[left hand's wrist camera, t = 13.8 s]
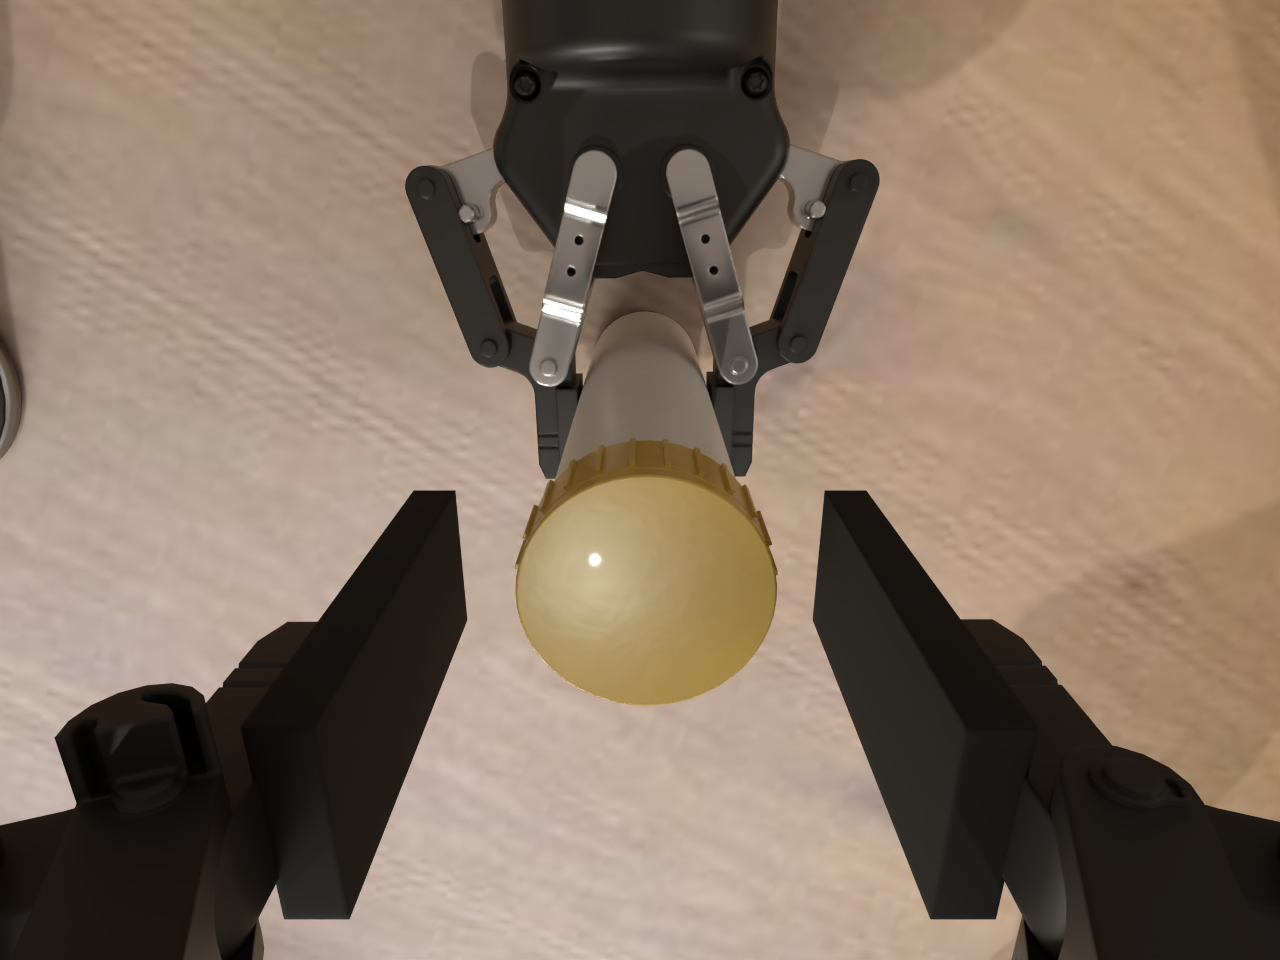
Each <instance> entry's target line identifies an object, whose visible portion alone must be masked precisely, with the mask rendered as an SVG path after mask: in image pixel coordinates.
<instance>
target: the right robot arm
mask: <svg viewBox="0 0 1280 960" xmlns="http://www.w3.org/2000/svg"><path fill="white" fill-rule="evenodd" d="M502 7H503V23H504V38H505V54H506V69H507V88H508V91H507V102H506V108H505V112H504V115H503V118H502V121H501V123H500V125H499V127H498V129H497V132H496V134H495V138H494V144H493V148H492V149H489V150H486V151H483V152H481V153H478V154H475V155H472V156H469V157H467V158H464V159H461V160H458V161H455V162H453V163H450V164H447V165H444V166H433V165H429V166H420V167H417V168H415V169H413V170H412V171H411V172H410V173H409V175H408V177H407V179H406V184H405V189H406V193H407V196H408V199H409V201H410V204H411V206H412V209H413V211H414V214H415V216H416V219H417V221H418V224H419V226H420V229H421V231H422V234H423V236H424V239H425V241H426V244H427V246H428V249H429V251H430V254H431V256H432V259H433V261H434V264H435V266H436V269H437V271H438V274H439V276H440V279H441V281H442V284H443V286H444V289H445V291H446V293H447V296H448V298H449V301H450V303H451V306H452V308H453V311H454V313H455V316H456V318H457V321H458V323H459V326H460V328H461V331H462V333H463V336H464V338H465V341H466V343H467V346H468V348H469V351H470V353H471V355H472V357H473V359H474V360H475V361H476V362H477V363H478V364H480V365H482V366H484V367H497V366H500V367H503V368H506V369H509V370H512V371H515V372H518V373H520V374H522V375H524V376H525V377H526V378H527V379H528V380H529V381H530V383H531V384H532V386H533V388H534V392H535V403H536V420H537V434H538V454H539V465H540V467H541V469H542V471H543V473H544V475H545V477H546V479H556V475H557V472H558V469H559V465H560V462H561V459H562V455H563V452H564V449H565V445H566V442H567V439H568V436H569V432H570V429H571V426H572V422H573V419H574V416H575V412H576V409H577V406H578V402H579V399H580V396H581V392H582V389H583V376H582V374H576V361H575V352H576V348H577V344H578V340H579V336H580V333H581V329H582V325H583V321H584V317H585V313H586V309H587V306H588V303H589V299H590V295H591V292H592V288H593V284H594V280H595V278H618V277H622V276H625V275H628V274H632V273H635V272H639V271H646V272H650V273H654V274H658V275H662V276H665V277H669V278H670V277H691V281H692V284H693V288H694V291H695V295H696V298H697V301H698V305H699V308H700V311H701V315H702V318H703V322H704V326H705V329H706V333H707V336H708V340H709V344H710V347H711V351H712V354H713V372H707V380H706V387H707V390H708V393H709V397H710V400H711V403H712V406H713V409H714V412H715V415H716V419H717V422H718V425H719V428H720V431H721V434H722V437H723V441H724V444H725V447H726V450H727V453H728V456H729V459H730V463H731V466H732V469H733V472H734V475H735V476H745V475H746V473H747V471H748V469H749V467H750V465H751V462H752V443H753V418H754V394H755V387H756V384H757V382H758V380H759V379H760V377H761V376H762V375H763V374H764V373H766V372H767V371H769V370H771V369H774V368H776V367H779V366H782V365H785V364H787V363H790V362H791V363H802V362H805V361H807V360H809V359H810V358H811V357H812V356H813V355H814V354H815V352H816V350H817V348H818V345H819V342H820V340H821V337H822V334H823V332H824V329H825V326H826V324H827V321H828V319H829V316H830V313H831V311H832V308H833V305H834V303H835V300H836V298H837V295H838V292H839V290H840V287H841V284H842V282H843V279H844V277H845V274H846V271H847V269H848V266H849V263H850V261H851V258H852V255H853V253H854V250H855V248H856V245H857V242H858V240H859V237H860V234H861V232H862V229H863V227H864V224H865V221H866V219H867V216H868V213H869V211H870V208H871V205H872V203H873V200H874V198H875V195H876V192H877V190H878V187H879V173H878V170H877V169H876V167H875V166H874V165H873V164H872V163H871V162H869V161H867V160H863V159H857V160H850V161H839V160H836V159H833V158H830V157H827V156H824V155H821V154H818V153H815V152H812V151H809V150H806V149H803V148H800V147H797V146H794V145H791V144H790V140H789V135H788V131H787V129H786V126H785V124H784V122H783V120H782V118H781V116H780V113H779V110H778V107H777V103H776V98H775V90H774V76H775V53H776V31H777V9H778V0H502ZM778 179H779V180H781V181H782V182H783V183H784V184H785V186H786V187H787V189H788V193H789V202H788V207H787V212H788V217H789V219H790V221H791V222H792V223H793V224H794V225H795V226H796V227H798V228H801V232H800V235H799V237H798V240H797V243H796V246H795V249H794V252H793V254H792V257H791V260H790V263H789V266H788V269H787V271H786V274H785V277H784V280H783V283H782V286H781V288H780V291H779V294H778V297H777V300H776V303H775V305H774V308H773V311H772V314H771V317H770V319H769V320H768V321H765V322H762V323H760V324H757V325H754V326H752V327H749V325H748V321H747V317H746V314H745V310H744V302H743V297H742V293H741V289H740V285H739V281H738V277H737V273H736V269H735V265H734V262H733V258H732V254H731V250H730V245H731V244H732V242H733V241H734V239H735V238H736V237H737V235H738V234H739V232H740V231H741V230H742V228H743V227H744V225H745V224H746V223H747V221H748V220H749V219H750V217H751V216H752V214H753V213H754V212H755V210H756V209H757V207H758V206H759V205H760V203H761V202H762V200H763V199H764V198H765V196H766V195H767V193H768V192H769V191H770V189H771V188H772V187H773V185H774V184H775V182H776V181H777V180H778ZM505 182H506V183H507V185H508V186H509V187H510V189H511V190H512V191H513V193H514V194H515V195H516V197H517V198H518V199H519V201H520V202H521V203H522V205H523V206H524V207H525V209H526V210H527V211H528V213H529V214H530V215H531V217H532V218H533V219H534V221H535V222H536V223H537V225H538V226H539V227H540V229H541V230H542V231H543V233H544V234H545V235H546V237H547V238H548V239H549V241H550V242H551V243H552V245H553V246H554V247H555V251H554V255H553V259H552V263H551V268H550V272H549V276H548V280H547V285H546V289H545V293H544V298H543V303H542V312H541V316H540V320H539V325H538V329H534V328H532V327H529V326H526V325H523V324H520V323H517V321H516V318H515V315H514V313H513V310H512V307H511V305H510V302H509V299H508V297H507V294H506V291H505V289H504V286H503V283H502V281H501V278H500V275H499V273H498V270H497V267H496V265H495V262H494V259H493V257H492V254H491V251H490V249H489V246H488V243H487V241H486V238H485V235H484V233H483V232H486V231H488V230H489V229H491V228H492V227H493V225H494V224H495V222H496V219H497V209H496V204H495V198H496V193H497V191H498V189H499V188H500V186H501V185H502V184H503V183H505ZM21 406H22V405H21V392H20V385H19V381H18V377H17V373H16V370H15V367H14V364H13V362H12V359H11V357H10V355H9V353H8V350H7V349H6V347H5V345H4V343H3V341H2V340H1V338H0V459H1V458H2V457H3V456H4V454H5V453H6V452H7V451H8V449H9V448H10V446H11V444H12V443H13V441H14V438H15V436H16V434H17V431H18V427H19V423H20V418H21Z"/></svg>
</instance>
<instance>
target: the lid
mask: <svg viewBox="0 0 1280 960" xmlns="http://www.w3.org/2000/svg"><path fill="white" fill-rule="evenodd" d="M523 539H524V541H523V544H522V546H521V549H520V552H519V555H518V558H517V561H516V565H515V569H518V571H517V576H516V602H517V609H518V613H519V617H520V621H521V624H522V626H523V629H524V631H525V633H526V636H527V638H528V639H529V641H530V643H531V644H532V646H533V648H534V649H535V651H536V652H537V653H538V655H539V656H540V657H541V658H542V660H543V661H544V662H545V663H546V664H547V665H548V666H549V667H550V668H551V669H552V670H553V671H554V672H555V673H556V674H558V675H559V676H560V677H562V678H563V679H564V680H566V681H567V682H568V683H570V684H572V685H573V686H575V687H577V688H579V689H580V690H582V691H585V692H587V693H589V694H591V695H594V696H596V697H599V698H603V699H606V700H609V701H613V702H618V703H624V704H632V705H661V704H668V703H675V702H679V701H683V700H687V699H690V698H693V697H696V696H698V695H701V694H704V693H706V692H708V691H710V690H712V689H714V688H716V687H717V686H719V685H721V684H722V683H724V682H725V681H727V680H728V679H730V678H731V677H732V676H734V675H735V674H736V673H737V672H738V671H739V670H740V669H742V668H743V667H744V666H745V665H746V663H747V662H748V661H749V660H750V659H751V658H752V657H753V655H754V654H755V653H756V651H757V650H758V648H759V647H760V645H761V644H762V642H763V640H764V638H765V636H766V634H767V632H768V630H769V628H770V625H771V621H772V618H773V615H774V611H775V605H776V598H777V582H776V575H777V568H776V565H775V562H774V559H773V557H772V554H771V551H770V548H769V545H772V542H771V540H770V537H769V534H768V531H767V529H766V526H765V523H764V520H763V518H762V515H761V512H760V511H757V512H756V510H755V507H754V504H753V501H752V498H751V495H750V492H749V490H748V487H747V486H746V485H744V486H741V485H740V483H739V482H738V481H737V480H736V479H735V478H734V476H733V475H732V474H730V473H729V470H728V467H727V465H726V464H724V463H722V464H721V465H720V464H718V463H717V462H715V461H714V460H713V459H711V458H710V457H708V456H706V455H704V454H702V453H701V451H700V449H699V448H697V447H695V448H694V450H693V449H690V448H687V447H685V446H682V445H678V444H673V443H669V439H663V442H662V441H651V440H645V441H636V438H630V442H624V443H618V444H614V445H611V446H607V447H604V445H600V446H598V450H597V451H594V452H592V453H590V454H588V455H586V456H584V457H583V458H581V459H579V460H578V461H575V459H573V460H572V461H570V463H569V467H568V468H567V469H566V470H565V471H563V472H562V473H561V474H560V475H559V477H558V478H557V479H556V480H555V481H554V482H553V481H552V480H550V481H549V482H548V483H547V486H546V489H545V493H544V496H543V498H542V500H541V502H540V504H539V506H536V505H534V507H533V509H532V512H531V515H530V518H529V520H528V523H527V526H526V529H525V532H524V535H523Z"/></svg>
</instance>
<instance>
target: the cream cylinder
mask: <svg viewBox="0 0 1280 960" xmlns="http://www.w3.org/2000/svg"><path fill="white" fill-rule="evenodd" d="M630 438H636V441H645V440H651V441H662V442H663V439H669V443H673V444H678V445H682V446H685V447H687V448H690V449H693V450H694V448H695V447H697V448H699V449H700V451H701V453H702V454H704V455H706V456H708V457H710V458H711V459H713V460H714V461H715V462H717V463H718V464H720V465H721V464H722V463H724V464H726V465H727V467H728V470H729V473H730V474H732V475H733V476H734V478H735V475H734V472H733V469H732V466H731V463H730V459H729V456H728V453H727V450H726V447H725V444H724V441H723V437H722V434H721V431H720V428H719V425H718V422H717V419H716V415H715V412H714V409H713V406H712V403H711V400H710V397H709V393H708V390H707V387H706V384H705V381H704V378H703V375H702V371H701V368H700V365H699V362H698V359H697V356H696V352H695V349H694V346H693V344H692V341H691V339H690V337H689V336H688V334H687V333H686V331H685V330H684V329H683V328H682V327H681V326H680V325H679V324H678V323H677V322H675V321H674V320H672V319H671V318H669V317H667V316H665V315H662V314H659V313H655V312H647V311H644V312H634V313H630V314H627V315H624V316H622V317H620V318H618V319H617V320H615V321H614V322H612V323H611V324H610V325H609V326H608V327H607V328H606V329H605V330H604V331H603V333H602V334H601V336H600V337H599V339H598V341H597V344H596V347H595V349H594V353H593V356H592V359H591V363H590V366H589V369H588V373H587V376H586V379H585V383H584V386H583V389H582V392H581V396H580V399H579V402H578V406H577V409H576V412H575V416H574V419H573V422H572V426H571V429H570V432H569V436H568V439H567V442H566V445H565V449H564V452H563V455H562V459H561V462H560V465H559V469H558V472H557V475H556V479H557V478H558V477H559V475H560V474H561V473H562V472H563V471H565V470H566V469H567V468H568V467H569V463H570V461H572V460H573V459H575V461H578V460H579V459H581V458H583V457H584V456H586V455H588V454H590V453H592V452H594V451H597V450H598V446H600V445H604V447H607V446H611V445H614V444H618V443H624V442H630ZM556 479H555V480H556ZM735 479H736V478H735Z"/></svg>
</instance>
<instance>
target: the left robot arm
mask: <svg viewBox="0 0 1280 960" xmlns="http://www.w3.org/2000/svg"><path fill="white" fill-rule="evenodd" d="M466 622H467V612H466V601H465V590H464V580H463V569H462V558H461V547H460V537H459V526H458V515H457V504H456V494H455V491H413V492H412V494H411V495H410V496H409V498H408V499H407V501H406V502H405V503H404V505H403V506H402V507H401V509H400V510H399V511H398V513H397V514H396V516H395V517H394V518H393V520H392V521H391V522H390V524H389V525H388V527H387V528H386V529H385V531H384V532H383V533H382V535H381V536H380V537H379V539H378V540H377V542H376V543H375V544H374V546H373V547H372V548H371V550H370V551H369V552H368V554H367V555H366V557H365V558H364V559H363V561H362V562H361V563H360V565H359V566H358V568H357V569H356V570H355V572H354V573H353V574H352V576H351V577H350V578H349V580H348V581H347V583H346V584H345V585H344V587H343V588H342V589H341V591H340V592H339V594H338V595H337V596H336V598H335V599H334V600H333V602H332V603H331V604H330V606H329V607H328V609H327V610H326V611H325V613H324V614H323V615H322V617H321V618H320V619H319V621H318V622H287V623H285V624H284V625H282V626H280V627H279V628H277V629H276V630H274V631H273V632H271V633H270V634H268V635H267V636H265V637H263V638H262V639H260V640H259V641H257V643H256V644H255V645H254V646H253V647H252V649H251V650H250V651H249V652H248V653H247V655H246V656H245V657H244V658H243V659H242V661H241V662H240V663H239V668H235V669H234V670H233V671H232V673H231V674H230V675H229V676H228V677H227V679H226V680H225V681H224V682H223V687H219V688H218V689H217V691H216V692H215V693H214V694H213V695H212V697H211V698H210V699H209V700H208V701H207V703H205V699H204V695H202V694H201V693H200V692H198V691H197V690H196V689H194V688H193V687H190V686H185V685H179V684H173V683H170V684H158V685H146V686H143V687H139V688H135V689H131V690H128V691H124V692H120V693H117V694H115V695H113V696H111V697H109V698H106V699H104V700H102V701H100V702H97V703H95V704H93V705H91V706H89V707H88V708H87V709H85V710H84V711H82V712H81V713H79V714H78V715H77V716H75V717H74V718H72V719H71V720H69V721H68V722H67V724H66V725H65V726H64V727H63V728H62V730H61V731H60V732H59V733H58V734H57V736H56V737H55V740H56V743H57V746H58V749H59V752H60V755H61V758H62V761H63V764H64V767H65V770H66V773H67V776H68V779H69V782H70V785H71V788H72V791H73V794H74V797H75V800H76V803H77V804H76V807H75V808H74V809H70V810H67V811H63V812H59V813H54V814H50V815H45V816H41V817H36V818H32V819H27V820H23V821H18V822H14V823H9V824H5V825H0V960H263V954H264V944H263V938H262V932H261V928H260V923H259V919H258V918H259V916H260V914H261V912H262V910H263V908H264V906H265V904H266V902H267V900H268V898H269V896H270V894H271V892H272V890H273V889H274V887H275V885H277V890H278V894H279V898H280V903H281V907H282V912H283V916H284V919H350V917H351V914H352V912H353V909H354V906H355V904H356V901H357V899H358V896H359V894H360V891H361V889H362V886H363V884H364V881H365V878H366V876H367V873H368V871H369V868H370V866H371V863H372V861H373V858H374V856H375V853H376V851H377V848H378V845H379V843H380V840H381V838H382V835H383V833H384V830H385V828H386V825H387V823H388V820H389V818H390V815H391V812H392V810H393V807H394V805H395V802H396V800H397V797H398V795H399V792H400V790H401V787H402V785H403V782H404V779H405V777H406V774H407V772H408V769H409V767H410V764H411V762H412V759H413V757H414V754H415V751H416V749H417V746H418V744H419V741H420V739H421V736H422V734H423V731H424V729H425V726H426V724H427V721H428V718H429V716H430V713H431V711H432V708H433V706H434V703H435V701H436V698H437V696H438V693H439V691H440V688H441V685H442V683H443V680H444V678H445V675H446V673H447V670H448V668H449V665H450V663H451V660H452V658H453V655H454V652H455V650H456V647H457V645H458V642H459V640H460V637H461V635H462V632H463V630H464V627H465V624H466ZM813 622H814V624H815V627H816V630H817V632H818V635H819V637H820V640H821V642H822V645H823V647H824V650H825V652H826V655H827V658H828V660H829V663H830V665H831V668H832V670H833V673H834V675H835V678H836V680H837V683H838V685H839V688H840V691H841V693H842V696H843V698H844V701H845V703H846V706H847V708H848V711H849V713H850V716H851V718H852V721H853V724H854V726H855V729H856V731H857V734H858V736H859V739H860V741H861V744H862V746H863V749H864V751H865V754H866V757H867V759H868V762H869V764H870V767H871V769H872V772H873V774H874V777H875V779H876V782H877V785H878V787H879V790H880V792H881V795H882V797H883V800H884V802H885V805H886V807H887V810H888V812H889V815H890V818H891V820H892V823H893V825H894V828H895V830H896V833H897V835H898V838H899V840H900V843H901V845H902V848H903V851H904V853H905V856H906V858H907V861H908V863H909V866H910V868H911V871H912V873H913V876H914V878H915V881H916V884H917V886H918V889H919V891H920V894H921V896H922V899H923V901H924V904H925V906H926V909H927V912H928V914H929V917H930V919H996V916H997V912H998V907H999V903H1000V898H1001V894H1002V890H1003V885H1004V881H1005V883H1006V885H1007V887H1008V889H1009V890H1010V892H1011V894H1012V896H1013V898H1014V900H1015V902H1016V904H1017V906H1018V908H1019V910H1020V912H1021V913H1022V919H1021V923H1020V928H1019V932H1018V936H1017V940H1016V944H1015V948H1014V952H1013V956H1012V960H1280V822H1277V821H1273V820H1268V819H1264V818H1259V817H1255V816H1250V815H1245V814H1241V813H1236V812H1232V811H1227V810H1223V809H1218V808H1214V807H1211V806H1207V805H1204V803H1203V801H1202V800H1201V799H1200V797H1199V796H1198V794H1197V793H1196V792H1195V790H1194V789H1193V787H1192V786H1191V785H1190V784H1189V783H1188V782H1187V781H1185V780H1184V779H1183V778H1182V777H1180V776H1179V775H1178V774H1177V773H1175V772H1174V771H1173V770H1172V769H1170V768H1169V767H1167V766H1165V765H1163V764H1161V763H1159V762H1157V761H1155V760H1153V759H1151V758H1150V757H1148V756H1146V755H1144V754H1140V753H1137V752H1134V751H1131V750H1127V749H1124V748H1121V747H1117V746H1112V745H1111V743H1110V742H1109V741H1108V740H1107V739H1106V737H1105V736H1104V735H1103V734H1102V733H1101V731H1100V730H1099V729H1098V728H1097V727H1096V725H1095V724H1094V723H1093V722H1092V721H1091V719H1090V718H1089V717H1088V716H1087V715H1086V713H1085V712H1084V711H1083V710H1082V709H1081V708H1080V706H1079V705H1078V704H1077V703H1076V702H1075V700H1074V699H1073V698H1072V697H1071V696H1070V694H1069V693H1068V692H1067V691H1066V690H1065V688H1064V687H1063V686H1062V685H1058V683H1057V679H1056V678H1055V676H1054V675H1053V674H1052V673H1051V672H1050V670H1049V669H1048V668H1047V667H1046V666H1042V661H1041V660H1040V659H1039V657H1038V656H1037V655H1036V654H1035V653H1034V651H1033V650H1032V649H1031V648H1030V647H1029V645H1028V644H1027V643H1026V642H1025V641H1024V639H1023V638H1021V637H1019V636H1018V635H1016V634H1015V633H1013V632H1012V631H1010V630H1008V629H1007V628H1005V627H1004V626H1002V625H1001V624H999V623H998V622H996V621H994V620H993V619H960V618H959V617H958V615H957V614H956V613H955V611H954V610H953V609H952V607H951V606H950V604H949V603H948V602H947V600H946V599H945V598H944V596H943V595H942V594H941V592H940V591H939V589H938V588H937V587H936V585H935V584H934V583H933V581H932V580H931V578H930V577H929V576H928V574H927V573H926V572H925V570H924V569H923V568H922V566H921V565H920V563H919V562H918V561H917V559H916V558H915V557H914V555H913V554H912V552H911V551H910V550H909V548H908V547H907V546H906V544H905V543H904V542H903V540H902V539H901V537H900V536H899V535H898V533H897V532H896V531H895V529H894V528H893V527H892V525H891V524H890V522H889V521H888V520H887V518H886V517H885V516H884V514H883V513H882V511H881V510H880V509H879V507H878V506H877V505H876V503H875V502H874V501H873V499H872V498H871V496H870V495H869V494H868V492H867V491H825V494H824V504H823V515H822V526H821V537H820V547H819V558H818V569H817V580H816V590H815V601H814V612H813Z"/></svg>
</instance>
